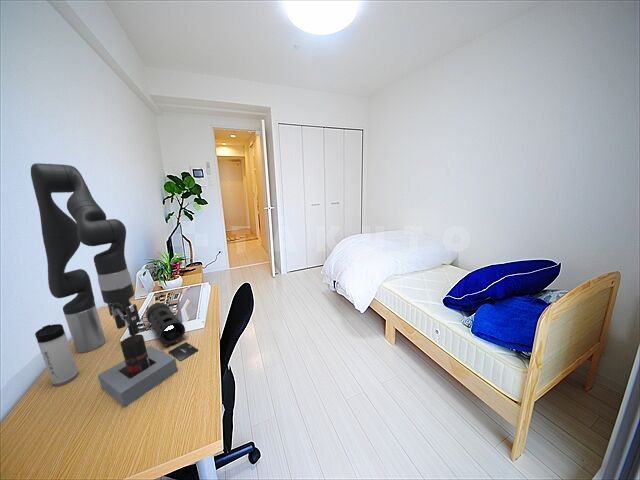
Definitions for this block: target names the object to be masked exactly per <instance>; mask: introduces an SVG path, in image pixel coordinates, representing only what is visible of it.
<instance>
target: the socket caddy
mask: <svg viewBox="0 0 640 480" xmlns="http://www.w3.org/2000/svg"><path fill="white" fill-rule="evenodd" d="M146 350H147V354H148V358H149V362H150V367H149V368H147V369H145V370H144V371H142V372H141V373H139V374H137V375H136V376H134V377H132V378H131V379H130V377H129V373H128V370H127V366H126V362H125V359H124V360H122V361H120V362H119V363H117V364H115V365H113V366H111V367H110V368H108V369H106V370H104V371H102V372H101V373H99V374H97V378H98V381H99V384H100V385H99V386H100V388H101V389H102V390H103V391H105V392H106V394H108V395H109V396H111V398H112V399H114V400H115V401H116V402H117V403H119V404H120V405H121V406H122V407H123V408H126V407H127V406H129V405H130V404H132V403H133V402H135V401H136V400H138V399H139V398H141V397H142V396H144V395H145V394H147V393H148V392H149V391H150V390H152V389H154V388H155V387H156V386H158V385H159V384H160V383H162V382H163V381H165V380H166V379H168V378H169V377H171V376H172V375H174V374H175V373H176V372H178V370H179V369H178V364H177V361H176V358H175V357H174V356H172V355H169V354H168V353H165V352H164V351H162V350H160V349H158V348H155V347H154V346H152V345H150V346H148V347H146Z"/></svg>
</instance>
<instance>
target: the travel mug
mask: <svg viewBox="0 0 640 480" xmlns="http://www.w3.org/2000/svg"><path fill="white" fill-rule="evenodd" d="M34 335H35V339H36V340H37V344H38V348H39V350H40V354H41V355H42V358H43V361H44V364H45V367H46V369H47V370H46V371H47V372H48V375H49V378H50V380H51V384H52V386H54V387H59V386H64V385H66V384H68V383H71V382H72V381H73V380H75V379H76V378H77V377H78V376H79V370H78V367H77V365H76V361H75V359H74V356H73V353H72V349H71V347H70V346H71V345H70V343H69V340H68V337H67V335H66V332H65V328H64V326H63V324H60V323H56V324H47V325H44V326H42V327H41V328H40V329H38V330H37V331H35V333H34Z"/></svg>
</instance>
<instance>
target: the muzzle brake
mask: <svg viewBox="0 0 640 480" xmlns="http://www.w3.org/2000/svg"><path fill="white" fill-rule="evenodd" d="M145 317H146V320H147V321H148V322H149V324H151V326H152V327H153V329H154V331H155V333H156V334H157V336H158V337H159V339H160V341H161V342H162V343H164V344H165V345H175V344H178V341H180V340H181V339H183V337H184V335H185V332H186V327H185V325H184V324H183V322H182V321H180V319H179V318H178V317H177V316H176V314H175V313H173V311H172V310H171V308H170V307H169V305H167V304H166V303H164V302H155V303H153V304H151V305H150V306H149V307H148V308H147V310H146V312H145ZM170 325H173V326H174V328H173V329H171V330H168V331H164V330H165V329H166V328H167V327H168V326H170Z"/></svg>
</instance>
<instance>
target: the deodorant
mask: <svg viewBox="0 0 640 480" xmlns="http://www.w3.org/2000/svg"><path fill="white" fill-rule="evenodd" d="M120 346H121V347H120V348H121V351H122V354H123V358H124V360H125V362H126V366H127V370H128V373H129V377H130V379H131V378H132V377H134V376H136V375H137V374H139V373H141V372H142V371H144V370H145V369H147V368H149V367H150V362H149V358H148V354H147V350H146V348H147V346H146V342H145V338H144V335H143V334H141V333H138V334H136V335H134V336H131V335H130V336H128V337H126V338H124V339H123V340H122V341H120Z"/></svg>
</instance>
